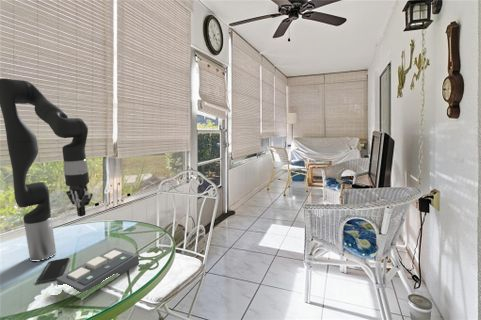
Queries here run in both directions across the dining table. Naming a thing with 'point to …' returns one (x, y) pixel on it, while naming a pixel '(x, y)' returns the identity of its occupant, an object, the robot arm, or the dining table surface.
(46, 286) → the dining table surface
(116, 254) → the key
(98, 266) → the key
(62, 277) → the keypad
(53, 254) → the robot arm
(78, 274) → the key
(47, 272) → the phone
